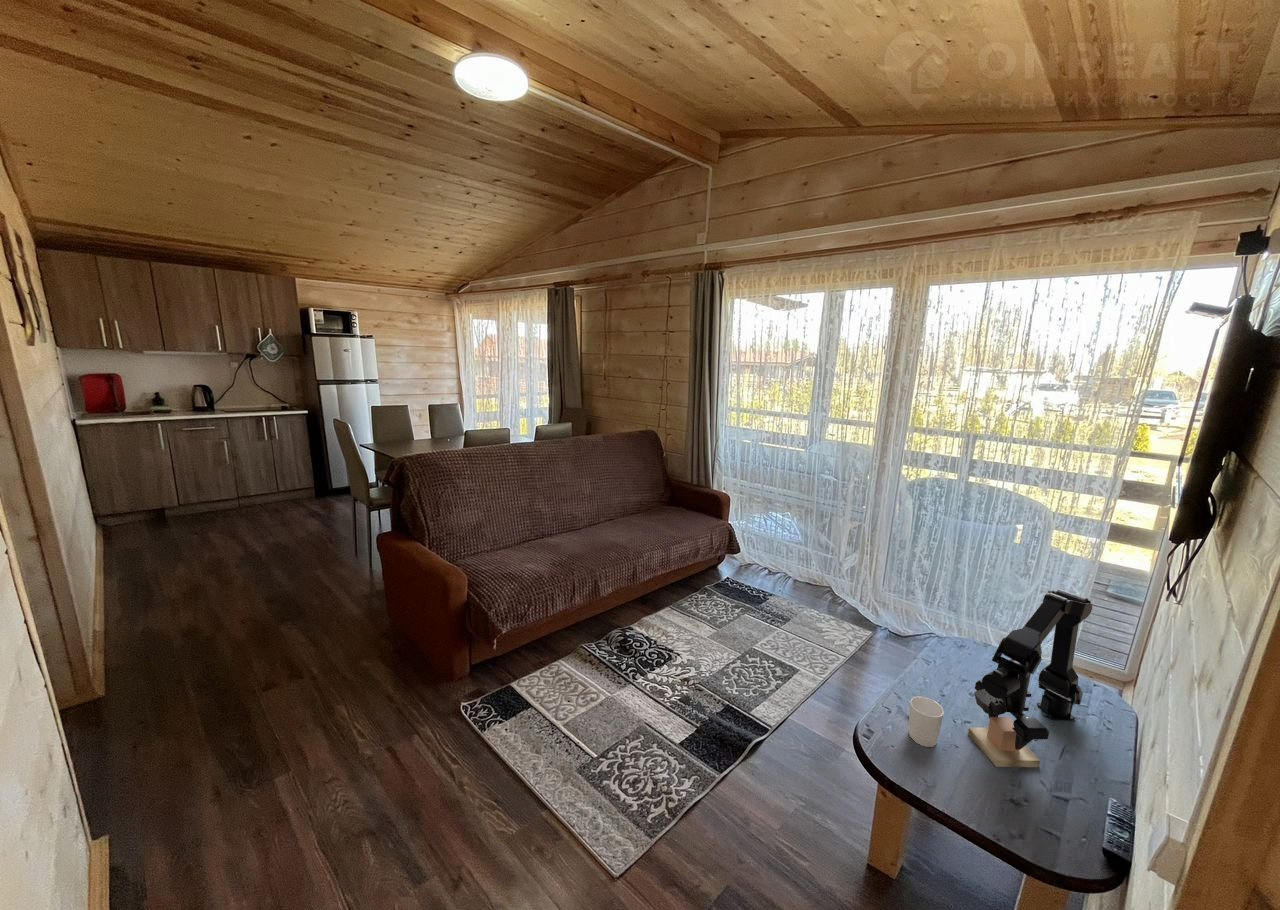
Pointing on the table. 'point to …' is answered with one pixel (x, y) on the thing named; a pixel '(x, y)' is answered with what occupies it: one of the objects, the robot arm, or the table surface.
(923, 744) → the white cup
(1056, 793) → the table surface
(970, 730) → the base slab
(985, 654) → the table surface
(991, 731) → the block
